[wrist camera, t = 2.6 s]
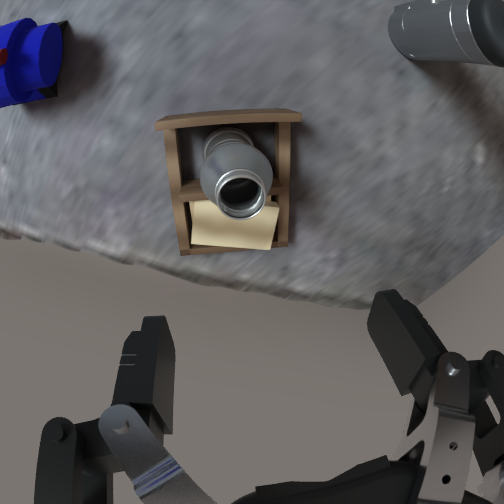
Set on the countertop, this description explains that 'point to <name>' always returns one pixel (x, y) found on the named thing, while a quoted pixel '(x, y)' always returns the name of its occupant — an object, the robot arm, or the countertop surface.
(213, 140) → the silver metal bottle
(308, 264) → the countertop surface
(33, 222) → the countertop surface
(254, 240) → the offcut top
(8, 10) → the countertop surface
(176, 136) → the walnut rack
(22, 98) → the alarm clock
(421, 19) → the robot arm
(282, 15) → the countertop surface
